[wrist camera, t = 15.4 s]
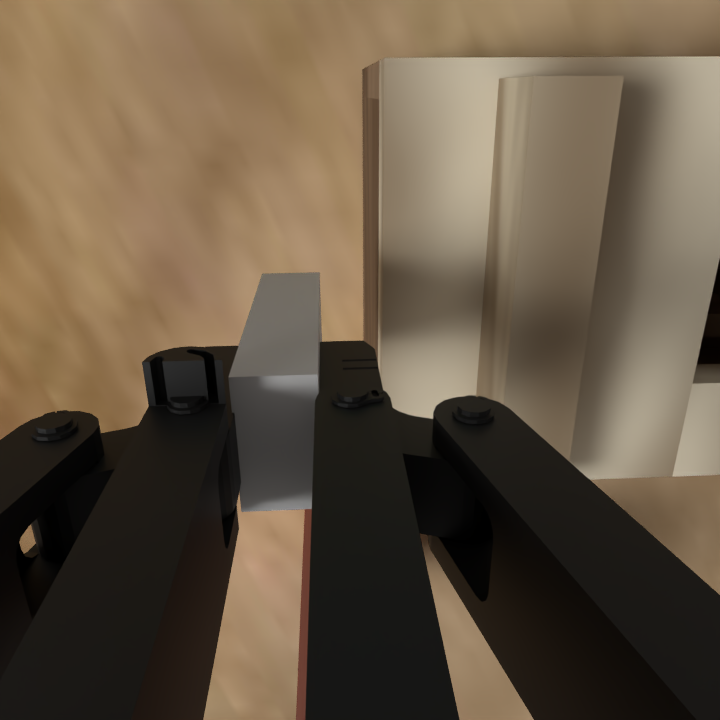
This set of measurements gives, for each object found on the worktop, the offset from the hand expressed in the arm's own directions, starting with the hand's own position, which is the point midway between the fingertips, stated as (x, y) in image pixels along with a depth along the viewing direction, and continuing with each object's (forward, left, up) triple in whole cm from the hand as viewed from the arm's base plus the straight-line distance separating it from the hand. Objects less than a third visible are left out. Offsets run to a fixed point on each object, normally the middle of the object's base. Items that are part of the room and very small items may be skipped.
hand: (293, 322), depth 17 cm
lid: (+13, 0, -3) cm, 13 cm away
